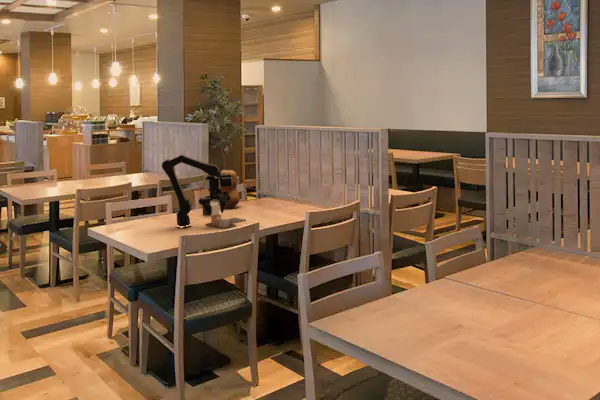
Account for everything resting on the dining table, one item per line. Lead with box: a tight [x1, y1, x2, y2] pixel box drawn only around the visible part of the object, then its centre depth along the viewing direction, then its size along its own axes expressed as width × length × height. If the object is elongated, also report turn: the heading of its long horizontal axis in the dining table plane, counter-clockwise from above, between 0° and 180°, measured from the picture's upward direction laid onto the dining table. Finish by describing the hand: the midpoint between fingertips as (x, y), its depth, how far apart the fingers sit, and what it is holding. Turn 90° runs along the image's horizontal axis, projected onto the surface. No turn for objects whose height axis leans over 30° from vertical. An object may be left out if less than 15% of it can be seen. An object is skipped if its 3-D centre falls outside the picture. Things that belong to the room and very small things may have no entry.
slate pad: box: [227, 217, 247, 224], centre depth 350 cm, size 10×10×1 cm
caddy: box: [205, 222, 237, 230], centre depth 338 cm, size 9×17×1 cm, turn 45°
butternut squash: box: [219, 169, 240, 209], centre depth 390 cm, size 14×13×25 cm
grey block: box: [219, 218, 229, 227], centre depth 336 cm, size 4×4×4 cm
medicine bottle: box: [201, 195, 220, 217], centre depth 370 cm, size 7×7×12 cm
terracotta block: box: [210, 213, 222, 226], centre depth 340 cm, size 4×4×6 cm
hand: (215, 214), depth 340 cm, fingers open, 9 cm apart
